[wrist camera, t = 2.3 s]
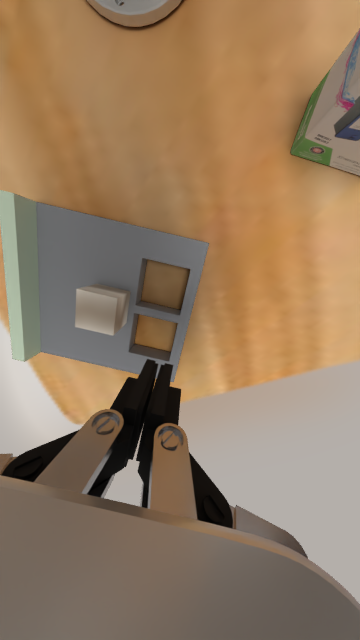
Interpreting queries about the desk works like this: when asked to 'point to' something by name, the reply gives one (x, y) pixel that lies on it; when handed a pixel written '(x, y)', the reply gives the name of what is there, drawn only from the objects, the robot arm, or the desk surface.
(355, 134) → the ink box
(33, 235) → the trap deck
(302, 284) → the desk surface
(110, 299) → the cream block
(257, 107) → the desk surface
